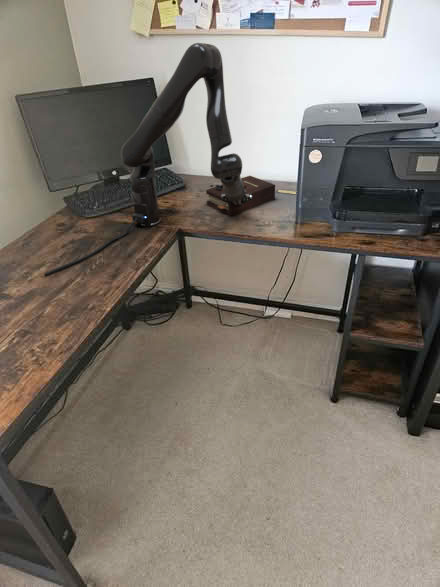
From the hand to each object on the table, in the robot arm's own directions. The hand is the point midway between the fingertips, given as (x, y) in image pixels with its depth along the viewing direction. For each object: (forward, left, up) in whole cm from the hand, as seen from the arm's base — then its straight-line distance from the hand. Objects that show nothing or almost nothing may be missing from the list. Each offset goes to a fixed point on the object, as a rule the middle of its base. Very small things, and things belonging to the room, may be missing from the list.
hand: (239, 205), depth 166 cm
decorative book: (+12, +4, -4) cm, 14 cm away
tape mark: (+29, -12, -4) cm, 32 cm away
